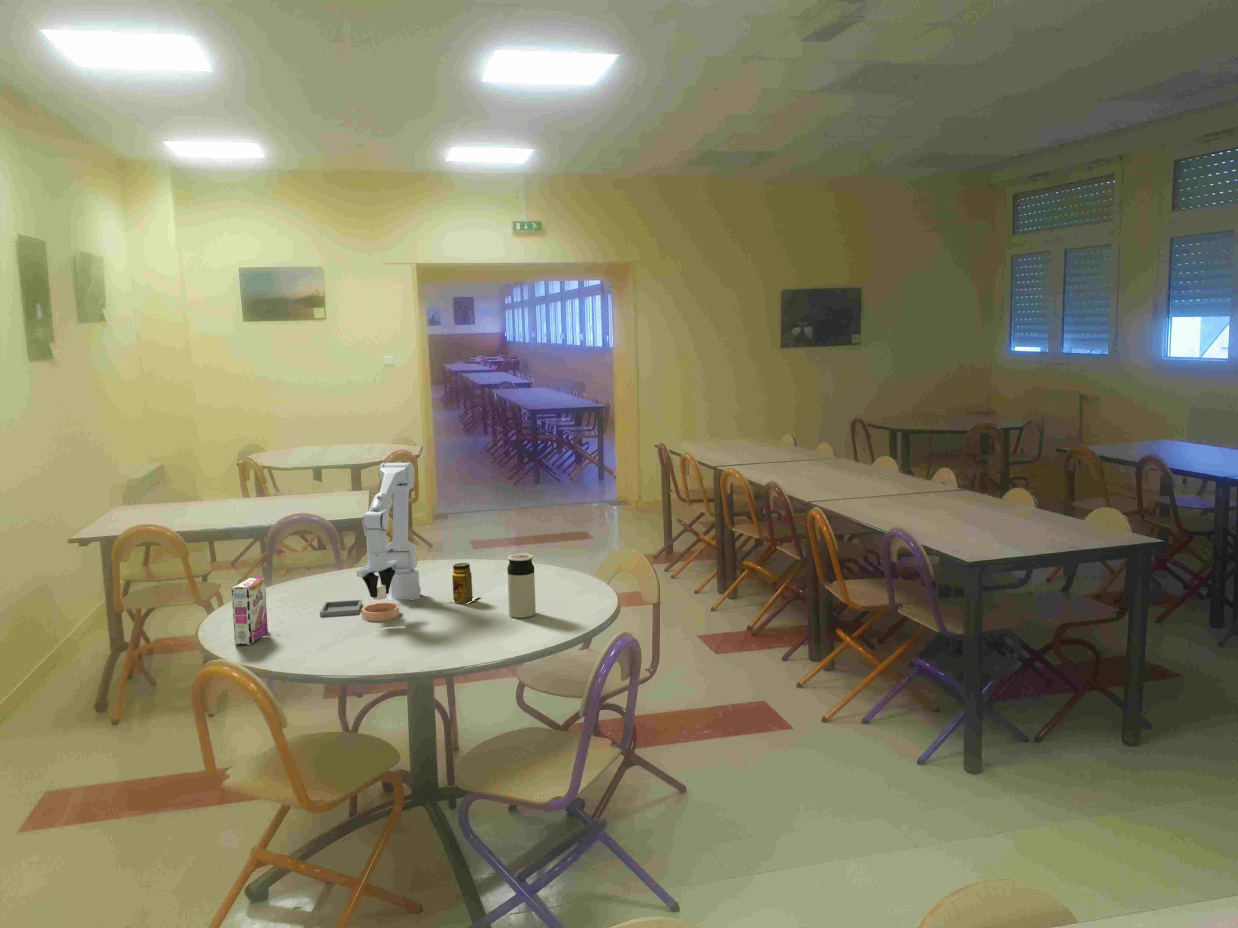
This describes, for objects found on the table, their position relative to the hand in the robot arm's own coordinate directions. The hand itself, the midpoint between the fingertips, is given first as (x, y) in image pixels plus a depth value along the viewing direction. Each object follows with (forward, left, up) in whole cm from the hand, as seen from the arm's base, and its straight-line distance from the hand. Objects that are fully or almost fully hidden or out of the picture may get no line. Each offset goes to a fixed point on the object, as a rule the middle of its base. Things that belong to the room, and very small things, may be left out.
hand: (379, 595), depth 267 cm
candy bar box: (+34, +12, -7) cm, 37 cm away
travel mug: (-42, +7, -7) cm, 43 cm away
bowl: (0, 0, -7) cm, 7 cm away
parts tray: (+12, -9, -7) cm, 17 cm away
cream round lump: (0, 0, -1) cm, 1 cm away
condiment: (-25, -13, -7) cm, 29 cm away
